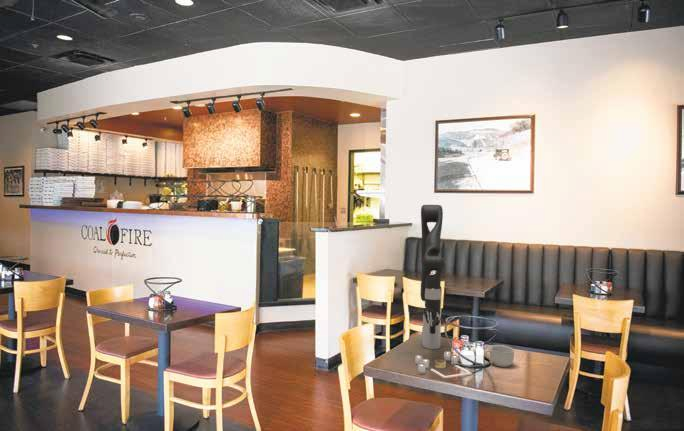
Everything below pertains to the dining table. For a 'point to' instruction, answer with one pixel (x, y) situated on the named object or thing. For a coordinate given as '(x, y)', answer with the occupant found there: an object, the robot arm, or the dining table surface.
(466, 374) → the frame
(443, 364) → the nut
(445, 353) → the spacer field
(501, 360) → the teacup
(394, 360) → the dining table surface
